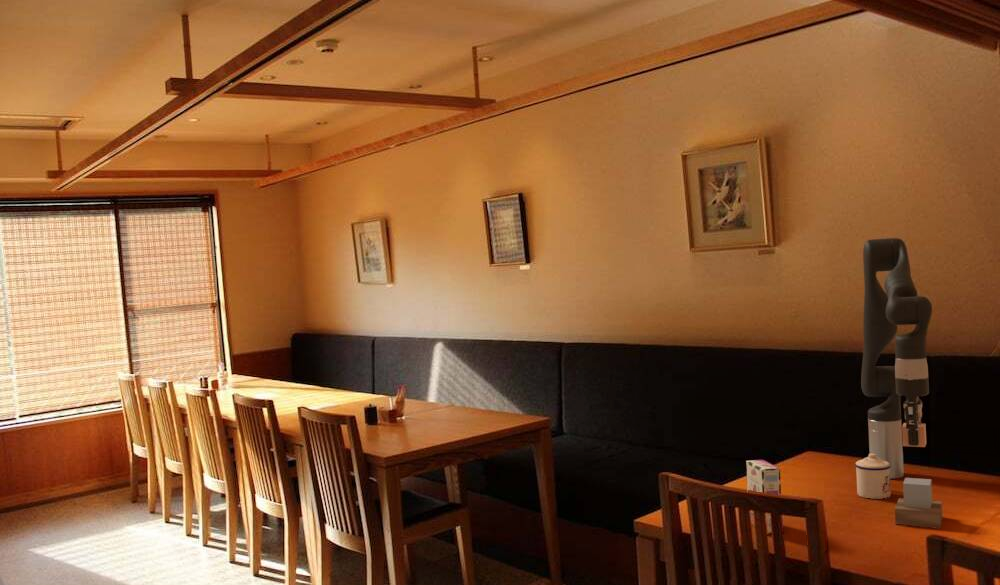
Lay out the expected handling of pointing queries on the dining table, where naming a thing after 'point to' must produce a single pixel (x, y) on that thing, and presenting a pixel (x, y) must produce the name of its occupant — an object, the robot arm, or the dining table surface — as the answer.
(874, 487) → the teacup with lid
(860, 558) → the dining table surface
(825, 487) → the dining table surface
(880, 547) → the dining table surface
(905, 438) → the terracotta block
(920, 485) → the slate block
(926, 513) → the walnut plinth
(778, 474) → the candy bar box
